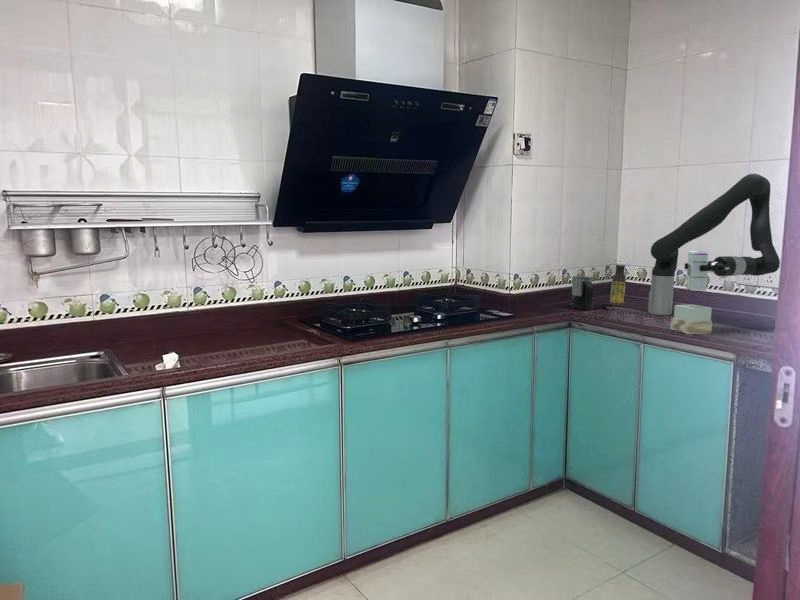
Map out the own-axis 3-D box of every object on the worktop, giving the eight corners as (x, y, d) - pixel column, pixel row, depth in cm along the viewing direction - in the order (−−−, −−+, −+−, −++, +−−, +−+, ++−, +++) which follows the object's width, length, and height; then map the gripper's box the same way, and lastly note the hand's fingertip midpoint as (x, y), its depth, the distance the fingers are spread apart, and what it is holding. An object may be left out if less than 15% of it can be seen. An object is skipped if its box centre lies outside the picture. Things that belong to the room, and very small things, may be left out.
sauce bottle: (609, 306, 287) (612, 264, 284) (609, 304, 293) (612, 263, 290) (624, 306, 285) (626, 265, 282) (624, 305, 291) (626, 264, 288)
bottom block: (670, 330, 231) (671, 317, 230) (692, 329, 233) (693, 316, 232) (688, 335, 221) (689, 322, 220) (711, 334, 224) (712, 321, 223)
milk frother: (566, 307, 283) (567, 276, 281) (592, 305, 290) (593, 274, 287) (587, 312, 270) (589, 279, 268) (613, 309, 277) (615, 278, 274)
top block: (673, 317, 230) (674, 305, 229) (694, 317, 232) (695, 304, 231) (689, 322, 221) (690, 308, 220) (710, 321, 223) (711, 308, 222)
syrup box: (706, 290, 221) (709, 251, 219) (689, 290, 223) (692, 251, 220) (701, 288, 227) (704, 250, 225) (685, 288, 228) (688, 250, 226)
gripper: (715, 254, 233) (679, 255, 229) (745, 257, 220) (707, 258, 216) (714, 273, 235) (678, 275, 230) (743, 278, 221) (706, 279, 217)
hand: (692, 267), depth 223 cm, fingers closed on syrup box, 7 cm apart
